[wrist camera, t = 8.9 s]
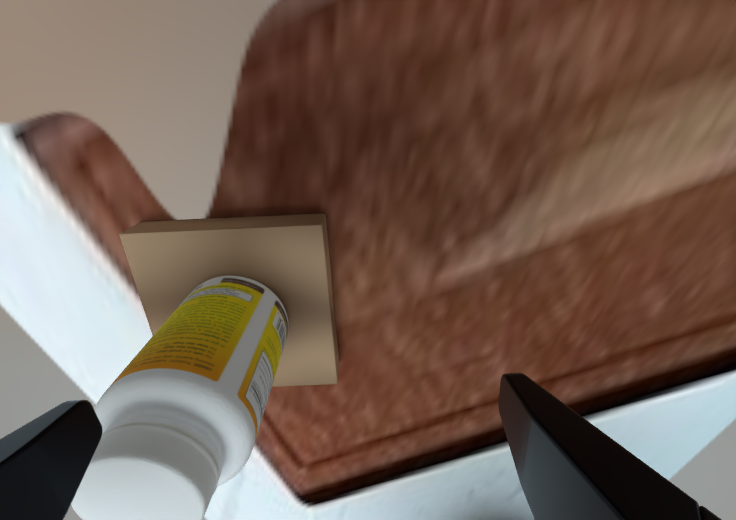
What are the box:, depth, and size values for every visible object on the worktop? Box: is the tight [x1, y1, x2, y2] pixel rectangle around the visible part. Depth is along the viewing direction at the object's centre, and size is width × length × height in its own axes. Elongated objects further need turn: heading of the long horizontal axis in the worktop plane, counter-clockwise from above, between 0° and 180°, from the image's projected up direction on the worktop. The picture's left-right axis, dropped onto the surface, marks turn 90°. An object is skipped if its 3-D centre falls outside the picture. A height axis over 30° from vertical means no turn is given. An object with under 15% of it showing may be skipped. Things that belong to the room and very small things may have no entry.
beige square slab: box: [119, 213, 339, 387], centre depth 21 cm, size 10×10×2 cm
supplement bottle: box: [71, 276, 288, 520], centre depth 16 cm, size 6×6×10 cm
